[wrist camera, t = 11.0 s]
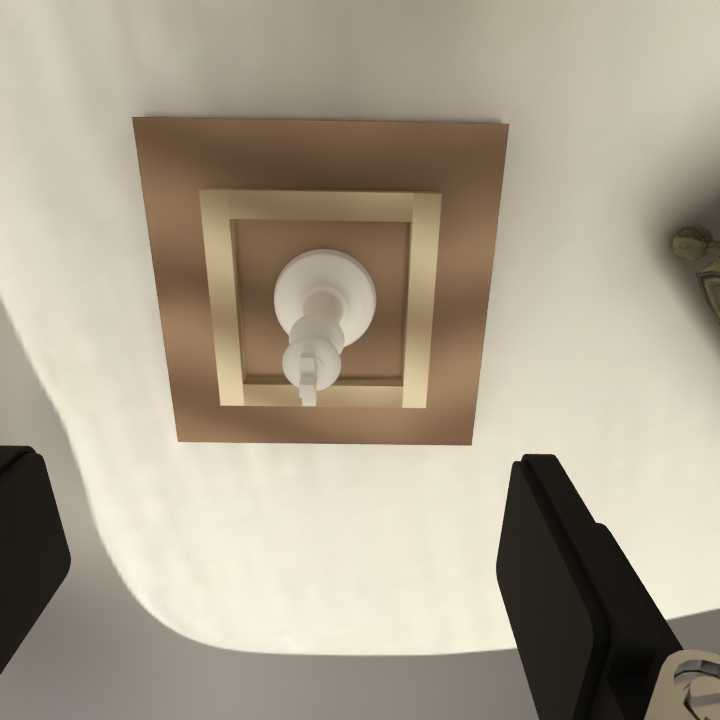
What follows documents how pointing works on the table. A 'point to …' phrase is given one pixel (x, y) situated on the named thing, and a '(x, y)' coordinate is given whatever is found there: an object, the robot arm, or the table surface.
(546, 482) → the robot arm
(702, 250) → the tabletop clock
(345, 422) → the walnut plate
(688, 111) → the table surface
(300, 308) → the chess piece
